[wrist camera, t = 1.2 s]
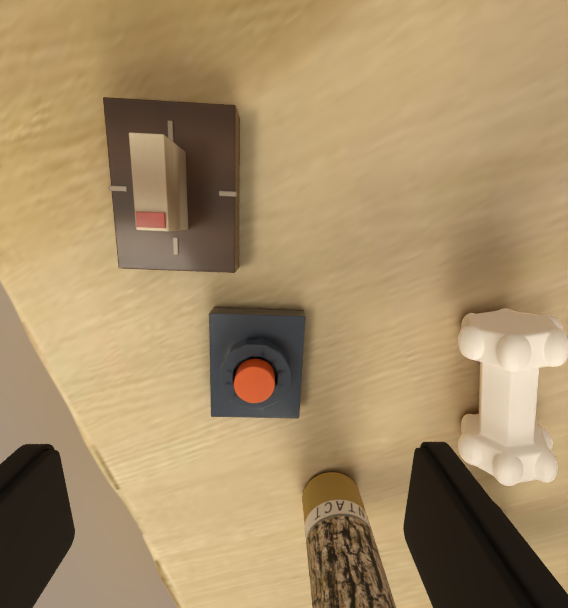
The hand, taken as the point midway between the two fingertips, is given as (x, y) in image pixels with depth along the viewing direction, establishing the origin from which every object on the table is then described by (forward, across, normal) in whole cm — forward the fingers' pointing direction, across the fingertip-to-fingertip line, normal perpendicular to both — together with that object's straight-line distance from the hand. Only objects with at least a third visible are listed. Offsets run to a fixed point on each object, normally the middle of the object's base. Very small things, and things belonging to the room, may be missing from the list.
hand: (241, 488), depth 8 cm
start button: (+20, +1, +7) cm, 21 cm away
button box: (+23, +1, +7) cm, 24 cm away
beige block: (+20, +7, -9) cm, 23 cm away
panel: (+23, +7, -9) cm, 26 cm away
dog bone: (+23, -23, +9) cm, 34 cm away
